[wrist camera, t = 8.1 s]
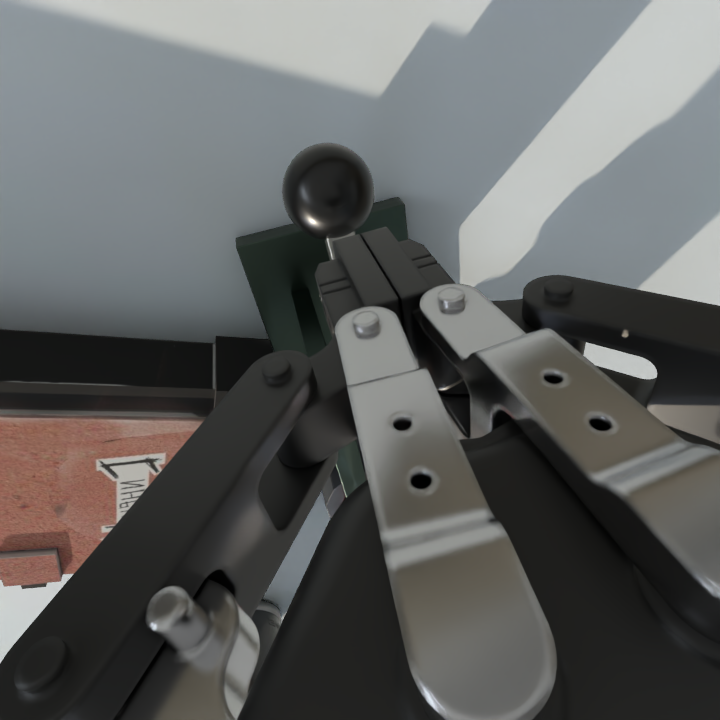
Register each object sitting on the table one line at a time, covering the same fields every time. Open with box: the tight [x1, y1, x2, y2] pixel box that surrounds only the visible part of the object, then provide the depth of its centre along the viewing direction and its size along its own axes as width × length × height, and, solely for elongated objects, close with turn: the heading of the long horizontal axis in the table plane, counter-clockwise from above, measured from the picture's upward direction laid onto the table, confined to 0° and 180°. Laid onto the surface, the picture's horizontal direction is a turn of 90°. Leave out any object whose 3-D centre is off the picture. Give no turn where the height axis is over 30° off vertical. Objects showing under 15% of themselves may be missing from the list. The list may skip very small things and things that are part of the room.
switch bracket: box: [236, 197, 408, 498], centre depth 24 cm, size 11×9×13 cm
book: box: [0, 330, 273, 589], centre depth 28 cm, size 26×18×5 cm
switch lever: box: [282, 143, 374, 260], centre depth 19 cm, size 13×3×3 cm, turn 10°
